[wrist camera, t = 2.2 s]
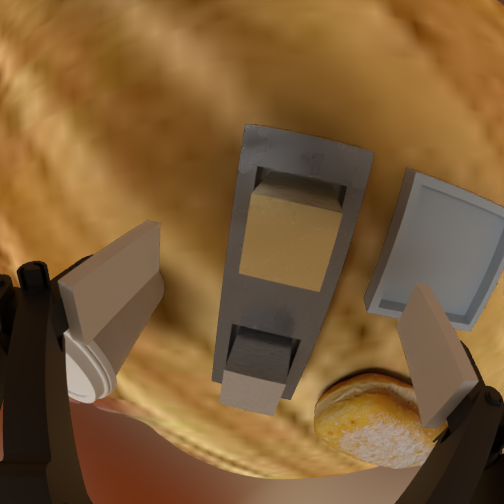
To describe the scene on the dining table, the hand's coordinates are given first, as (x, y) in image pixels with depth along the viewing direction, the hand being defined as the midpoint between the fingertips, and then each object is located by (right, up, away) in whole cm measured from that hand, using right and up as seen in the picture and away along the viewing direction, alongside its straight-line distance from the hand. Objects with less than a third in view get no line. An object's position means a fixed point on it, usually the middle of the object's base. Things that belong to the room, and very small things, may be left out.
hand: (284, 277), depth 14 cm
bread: (+19, -22, +20) cm, 35 cm away
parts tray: (+17, +1, +9) cm, 19 cm away
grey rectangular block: (0, -8, +16) cm, 18 cm away
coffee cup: (-14, -2, +18) cm, 23 cm away
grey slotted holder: (+1, -1, +14) cm, 14 cm away
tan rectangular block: (+2, +5, +10) cm, 11 cm away
